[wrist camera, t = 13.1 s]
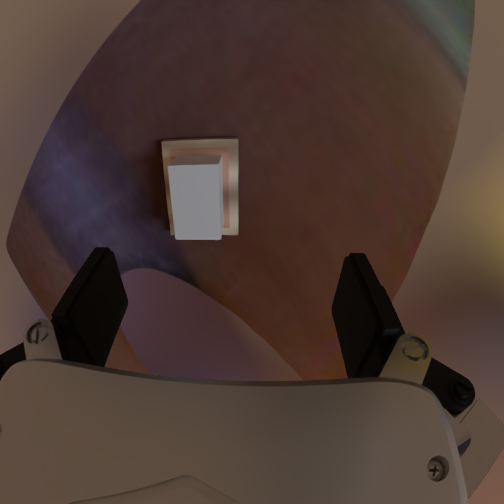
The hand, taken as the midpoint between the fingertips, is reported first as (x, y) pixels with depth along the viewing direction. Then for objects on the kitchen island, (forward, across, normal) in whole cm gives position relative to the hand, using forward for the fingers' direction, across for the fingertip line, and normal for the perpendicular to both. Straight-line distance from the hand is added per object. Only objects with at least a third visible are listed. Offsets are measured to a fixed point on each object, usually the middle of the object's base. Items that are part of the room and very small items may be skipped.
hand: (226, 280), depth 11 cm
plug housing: (+28, +6, +8) cm, 29 cm away
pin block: (+29, +6, +8) cm, 31 cm away
